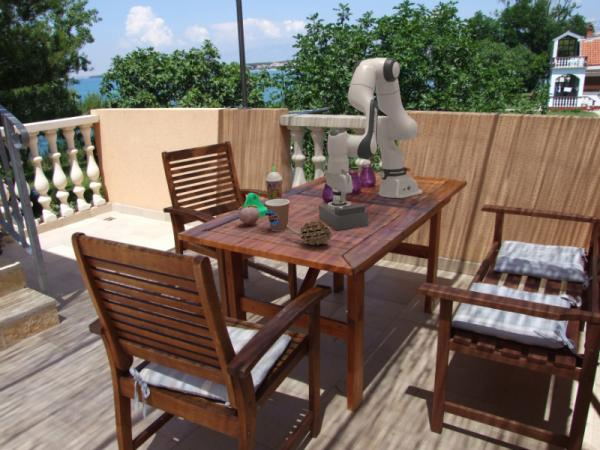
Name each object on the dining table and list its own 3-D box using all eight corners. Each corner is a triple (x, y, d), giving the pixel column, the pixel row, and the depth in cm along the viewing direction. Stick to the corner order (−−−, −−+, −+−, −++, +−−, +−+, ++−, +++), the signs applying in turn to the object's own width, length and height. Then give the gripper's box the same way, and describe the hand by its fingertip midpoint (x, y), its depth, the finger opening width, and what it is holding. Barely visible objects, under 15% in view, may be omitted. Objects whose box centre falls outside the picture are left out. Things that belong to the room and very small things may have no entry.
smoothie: (265, 208, 255) (262, 168, 249) (270, 203, 263) (267, 164, 257) (281, 208, 253) (279, 168, 247) (286, 203, 261) (283, 164, 255)
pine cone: (338, 243, 201) (337, 219, 198) (325, 251, 193) (324, 226, 190) (291, 235, 213) (289, 212, 210) (277, 243, 205) (275, 219, 202)
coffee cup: (262, 229, 222) (260, 202, 219) (280, 223, 229) (278, 197, 226) (278, 234, 215) (276, 206, 212) (296, 228, 222) (294, 201, 218)
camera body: (347, 213, 239) (347, 194, 236) (367, 225, 221) (367, 204, 218) (319, 218, 234) (318, 198, 231) (337, 230, 216) (336, 209, 213)
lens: (342, 207, 232) (342, 185, 229) (348, 210, 227) (347, 188, 224) (331, 209, 231) (330, 187, 227) (336, 212, 225) (335, 190, 222)
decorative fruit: (256, 221, 235) (255, 199, 232) (262, 225, 228) (260, 203, 225) (236, 224, 232) (234, 202, 229) (241, 229, 225) (239, 206, 222)
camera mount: (250, 219, 238) (249, 198, 235) (241, 216, 244) (239, 195, 241) (271, 214, 245) (270, 192, 242) (262, 211, 251) (261, 190, 248)
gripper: (355, 171, 215) (356, 203, 219) (335, 163, 233) (336, 193, 237) (341, 173, 213) (342, 205, 217) (322, 164, 231) (323, 195, 235)
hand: (339, 199), depth 227 cm, fingers closed on lens, 5 cm apart
